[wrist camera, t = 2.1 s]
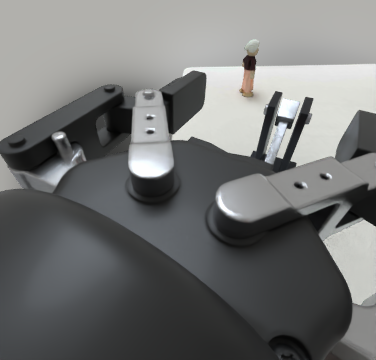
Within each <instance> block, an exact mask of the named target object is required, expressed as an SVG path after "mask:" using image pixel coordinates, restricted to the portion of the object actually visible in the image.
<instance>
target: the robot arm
mask: <svg viewBox="0 0 376 360" xmlns="http://www.w3.org/2000/svg"><path fill="white" fill-rule="evenodd" d="M205 89H206V74H205V73H202V72H198V71H191V72H190V73H188V74H187V75H185V76H184V77H181V78H178V79H175V80H174V81H172V82H171V83H169V84H168V85H166V86H164V87H163V88H161V89H160V90H156V89H143V90H140V91H138V92H137V93H136V97H132V96H124V93H123V88H122V87H121V86H118V85H105V86H101V87H99V88H97V89H95V90H94V91H92V92H90V93H88V94H86V95H84V96H83V97H81V98H79V99H77V100H75V101H73V102H71V103H69V104H68V105H66V106H64V107H62V108H60V109H58V110H57V111H55V112H53V113H51V114H49V115H47V116H45V117H43V118H42V119H40V120H38V121H36V122H34V123H32V124H30V125H29V126H27V127H25V128H23V129H21V130H19V131H17V132H16V133H14V134H12V135H10V136H8V137H6V138H4V139H3V140H2V141H0V154H1V156H2V157H3V159H4V160H5V162H6V163H7V165H8V168H9V170H10V171H11V173H12V174H13V175H14V177H15V178H16V180H17V181H18V183H19V184H20V186H21V187H22V188H24V189H13V190H5V191H1V192H0V360H324V359H325V357H326V356H327V354H328V353H330V354H332V355H333V356H335V357H336V358H338V359H340V360H376V293H375V294H374V295H372V296H370V297H369V298H367V299H366V300H364V301H363V303H362V305H357V304H354V303H352V298H351V293H350V290H349V287H348V285H347V283H346V281H345V279H344V277H343V275H342V273H341V272H340V270H339V268H338V267H337V265H336V263H335V262H334V260H333V258H332V256H331V255H330V253H329V251H328V250H327V248H326V246H325V245H324V243H323V241H324V240H325V239H326V238H327V237H329V236H330V235H332V234H334V233H337V232H339V231H341V230H343V229H345V228H348V227H350V226H352V225H354V224H356V223H359V222H361V221H362V220H366V221H368V222H369V223H371V224H373V225H374V226H376V114H374V113H370V112H366V111H362V110H359V111H358V112H357V113H356V115H355V116H354V118H353V120H352V121H351V123H350V125H349V126H348V128H347V130H346V132H345V133H344V135H343V137H342V138H341V140H340V142H339V144H338V147H337V150H336V156H335V158H333V157H327V158H323V159H320V160H317V161H314V162H311V163H308V164H304V165H301V166H298V167H295V168H292V169H288V170H285V171H282V172H279V173H275V172H273V171H272V168H273V166H274V165H273V164H270V163H267V162H264V161H262V160H259V159H256V158H253V157H248V156H242V155H237V154H231V153H227V152H225V151H224V150H222V149H220V148H218V147H217V146H215V145H213V144H211V143H209V142H206V141H203V140H200V139H197V138H194V137H191V138H190V139H189V140H188V141H183V140H173V141H170V138H169V133H171V134H174V133H175V132H177V131H178V130H179V129H180V128H181V127H182V126H183V125H184V124H185V123H186V122H188V121H189V120H190V119H191V118H192V117H193V116H194V115H195V114H196V113H197V112H199V111H200V110H201V109H202V107H203V104H204V100H205ZM101 115H103V117H104V120H105V126H104V127H102V128H101V129H100V130H98V131H97V129H96V120H97V119H98V117H100V116H101ZM130 134H132V135H131V144H130V145H129V150H128V151H124V152H120V153H116V154H112V155H107V154H108V153H109V152H110V151H111V150H112V149H114V148H115V147H116V146H117V145H118V144H120V143H121V142H122V141H123V140H124V139H125V138H127V137H128V136H129V135H130ZM105 155H107V156H105Z"/></svg>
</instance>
